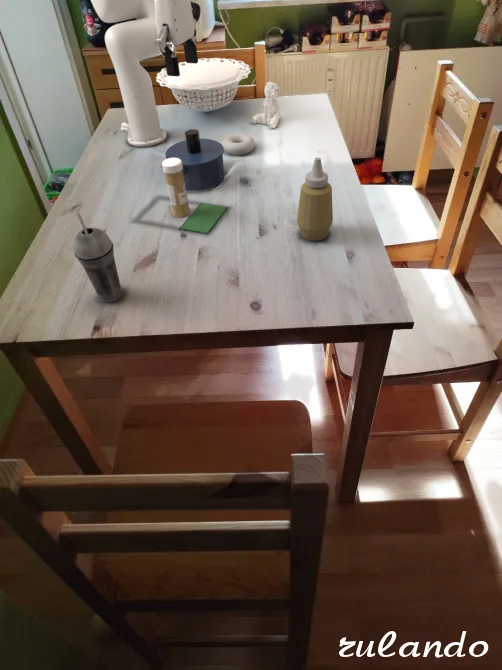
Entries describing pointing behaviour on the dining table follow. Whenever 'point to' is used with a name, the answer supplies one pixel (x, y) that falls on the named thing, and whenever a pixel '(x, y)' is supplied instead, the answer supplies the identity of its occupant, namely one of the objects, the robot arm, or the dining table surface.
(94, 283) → the beverage cup
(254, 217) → the dining table surface
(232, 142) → the donut
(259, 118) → the seated beast figurine
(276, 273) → the dining table surface
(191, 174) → the pot
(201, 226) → the green flat rectangular board
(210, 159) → the lid
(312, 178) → the squeeze bottle
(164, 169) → the sprinkles bottle
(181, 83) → the white wicker basket
